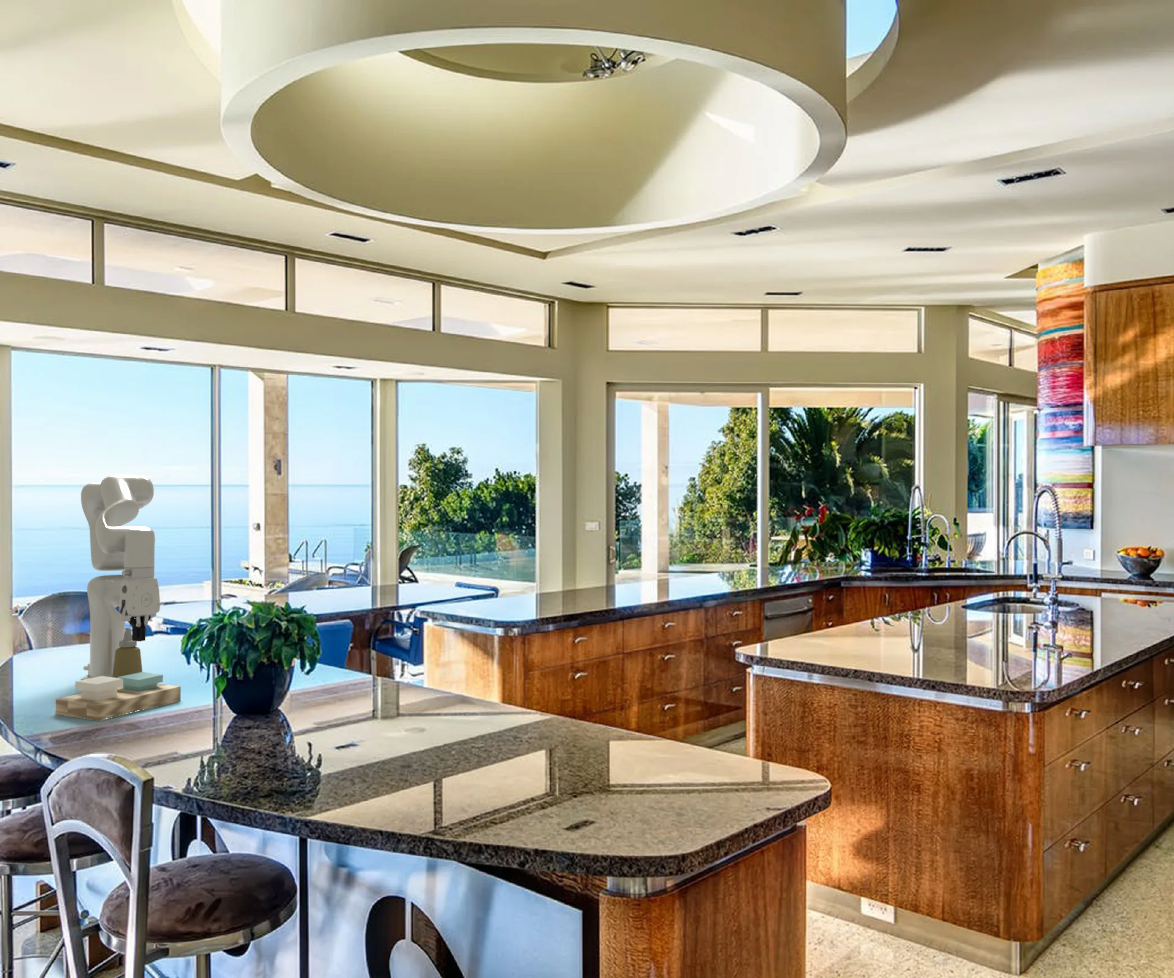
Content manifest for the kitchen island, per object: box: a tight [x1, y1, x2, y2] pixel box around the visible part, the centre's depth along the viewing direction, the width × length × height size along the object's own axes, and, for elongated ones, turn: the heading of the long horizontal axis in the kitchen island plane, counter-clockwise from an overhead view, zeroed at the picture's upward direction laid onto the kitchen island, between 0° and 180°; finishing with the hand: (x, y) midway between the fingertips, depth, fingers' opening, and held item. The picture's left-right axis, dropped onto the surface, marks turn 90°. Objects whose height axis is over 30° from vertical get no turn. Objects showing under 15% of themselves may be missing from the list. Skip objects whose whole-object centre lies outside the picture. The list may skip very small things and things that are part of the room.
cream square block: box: [74, 676, 123, 701], centre depth 257 cm, size 8×8×5 cm
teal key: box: [118, 671, 164, 692], centre depth 269 cm, size 8×8×5 cm
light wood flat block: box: [55, 683, 182, 722], centre depth 263 cm, size 26×16×4 cm, turn 155°
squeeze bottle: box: [112, 627, 143, 678], centre depth 285 cm, size 8×8×18 cm
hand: (138, 640), depth 269 cm, fingers closed
